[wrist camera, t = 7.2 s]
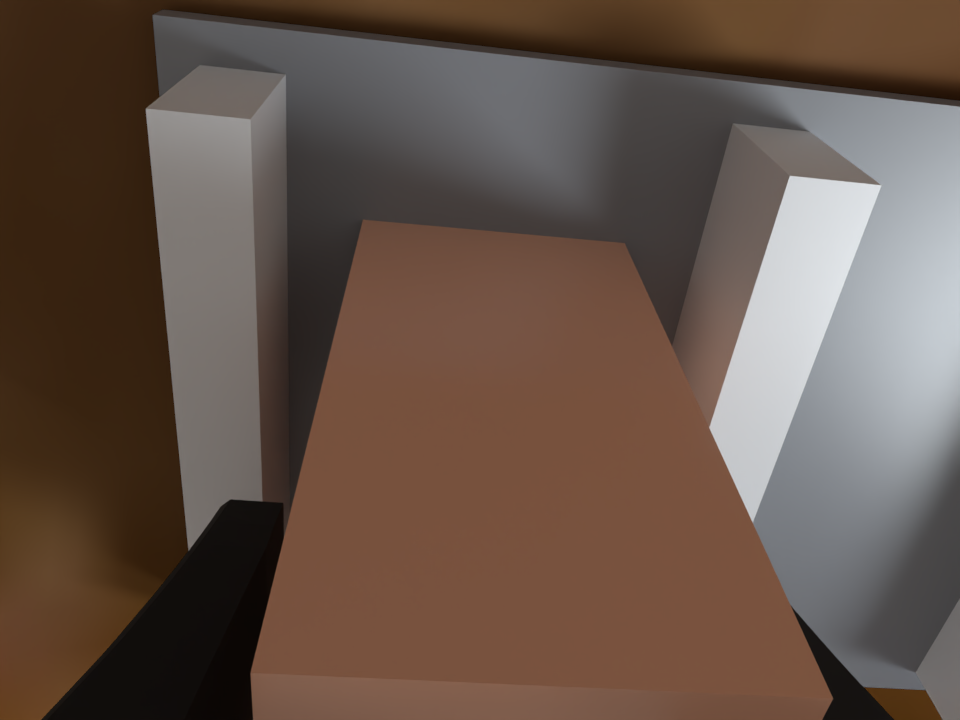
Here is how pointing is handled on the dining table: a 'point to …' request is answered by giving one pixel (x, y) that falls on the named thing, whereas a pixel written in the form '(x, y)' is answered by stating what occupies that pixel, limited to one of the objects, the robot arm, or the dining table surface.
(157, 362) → the dining table surface
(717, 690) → the terracotta flat plank
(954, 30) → the dining table surface
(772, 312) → the rack
